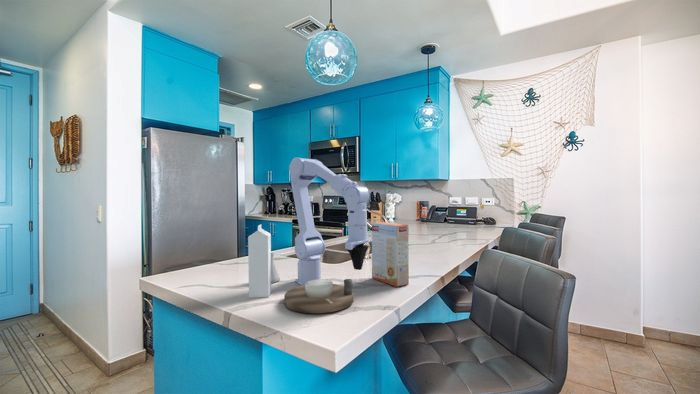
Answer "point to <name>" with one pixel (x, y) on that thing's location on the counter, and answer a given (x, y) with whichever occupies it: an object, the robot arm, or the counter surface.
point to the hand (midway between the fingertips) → (357, 269)
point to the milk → (259, 263)
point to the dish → (318, 288)
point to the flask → (274, 271)
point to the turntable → (320, 299)
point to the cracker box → (390, 253)
